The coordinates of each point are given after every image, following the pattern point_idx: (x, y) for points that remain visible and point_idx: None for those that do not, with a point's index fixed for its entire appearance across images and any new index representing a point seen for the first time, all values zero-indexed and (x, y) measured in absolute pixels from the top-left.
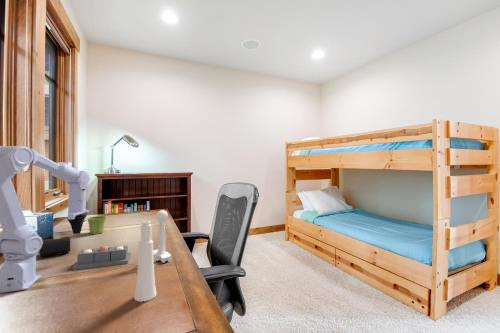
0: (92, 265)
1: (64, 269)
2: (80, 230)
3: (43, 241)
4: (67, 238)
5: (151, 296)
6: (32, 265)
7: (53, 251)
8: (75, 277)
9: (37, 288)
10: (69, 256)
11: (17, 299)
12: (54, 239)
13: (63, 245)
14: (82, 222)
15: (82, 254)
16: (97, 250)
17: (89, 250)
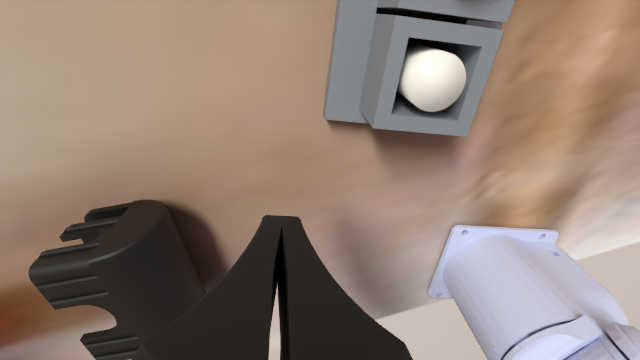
0: (494, 27)
1: (420, 162)
2: (291, 228)
3: None
4: (115, 269)
5: None
6: (555, 283)
7: (195, 269)
8: (564, 93)
9: (567, 203)
10: (219, 183)
11: (612, 229)
12: (137, 325)
13: (174, 252)
14: (271, 288)
15: (476, 105)
16: (461, 4)
17: (441, 69)
